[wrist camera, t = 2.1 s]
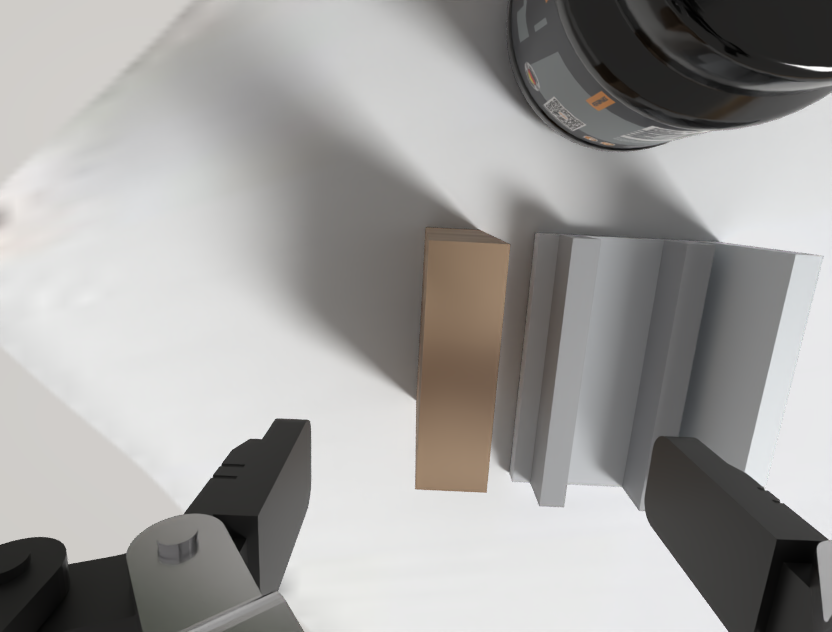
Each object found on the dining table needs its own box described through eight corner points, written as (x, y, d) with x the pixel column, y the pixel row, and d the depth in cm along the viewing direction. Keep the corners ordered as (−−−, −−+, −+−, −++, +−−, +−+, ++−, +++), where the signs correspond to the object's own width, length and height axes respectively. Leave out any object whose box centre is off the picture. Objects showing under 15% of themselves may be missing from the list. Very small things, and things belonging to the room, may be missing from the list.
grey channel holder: (535, 232, 23) (574, 243, 17) (720, 242, 23) (823, 255, 17) (509, 473, 26) (535, 552, 20) (673, 481, 26) (746, 561, 20)
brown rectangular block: (425, 227, 23) (429, 240, 15) (479, 229, 23) (510, 244, 15) (416, 400, 25) (415, 489, 17) (465, 402, 25) (486, 492, 17)
